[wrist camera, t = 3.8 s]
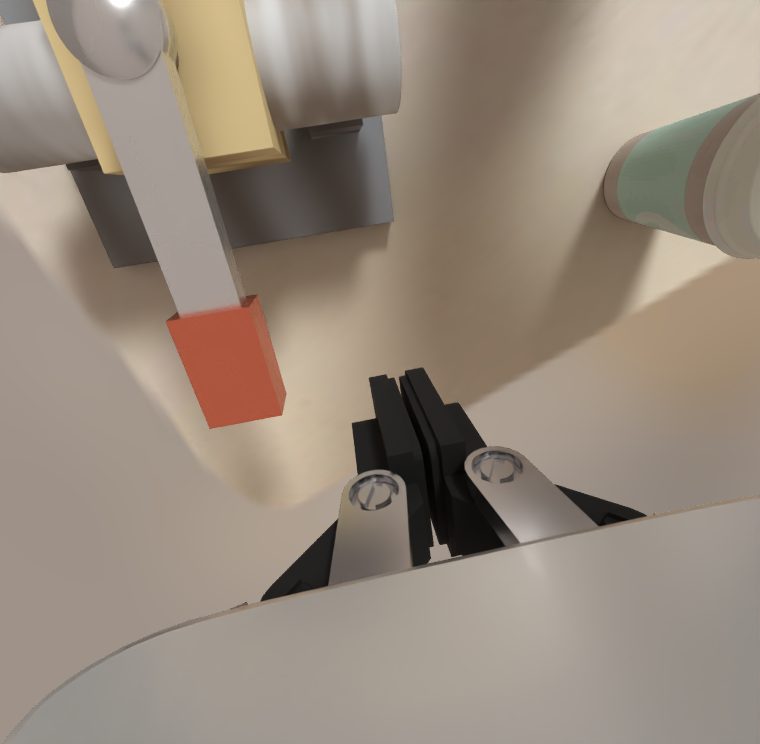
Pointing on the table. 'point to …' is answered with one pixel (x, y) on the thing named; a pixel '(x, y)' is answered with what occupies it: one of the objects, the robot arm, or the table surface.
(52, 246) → the table surface
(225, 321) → the lever
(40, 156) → the valve stand
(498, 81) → the table surface
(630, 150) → the coffee cup
